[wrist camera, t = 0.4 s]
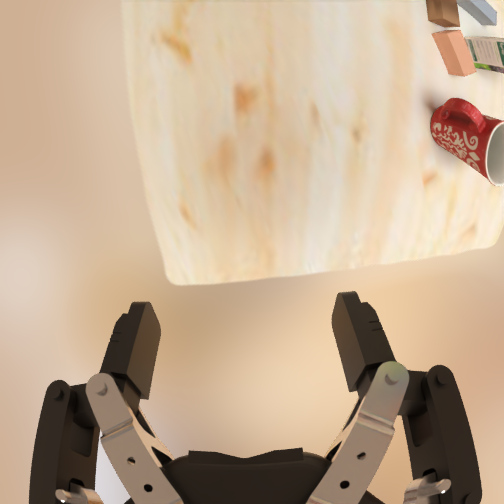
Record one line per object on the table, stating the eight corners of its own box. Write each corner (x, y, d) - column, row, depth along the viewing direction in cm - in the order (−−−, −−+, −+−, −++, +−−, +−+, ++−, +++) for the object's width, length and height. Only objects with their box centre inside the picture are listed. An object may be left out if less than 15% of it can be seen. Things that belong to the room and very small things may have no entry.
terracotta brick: (431, 34, 22) (446, 33, 19) (444, 30, 21) (460, 30, 18) (448, 73, 26) (464, 76, 23) (460, 69, 25) (476, 71, 22)
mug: (470, 127, 30) (526, 155, 20) (445, 162, 35) (498, 199, 24) (432, 72, 26) (495, 84, 15) (403, 110, 30) (463, 133, 19)
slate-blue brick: (454, 2, 17) (469, 0, 14) (455, -11, 15) (470, -13, 12) (481, 24, 18) (496, 25, 15) (482, 12, 16) (496, 12, 13)
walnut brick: (422, -15, 17) (437, -19, 14) (439, -7, 17) (454, -10, 14) (427, 20, 21) (443, 18, 18) (444, 27, 21) (460, 26, 18)
